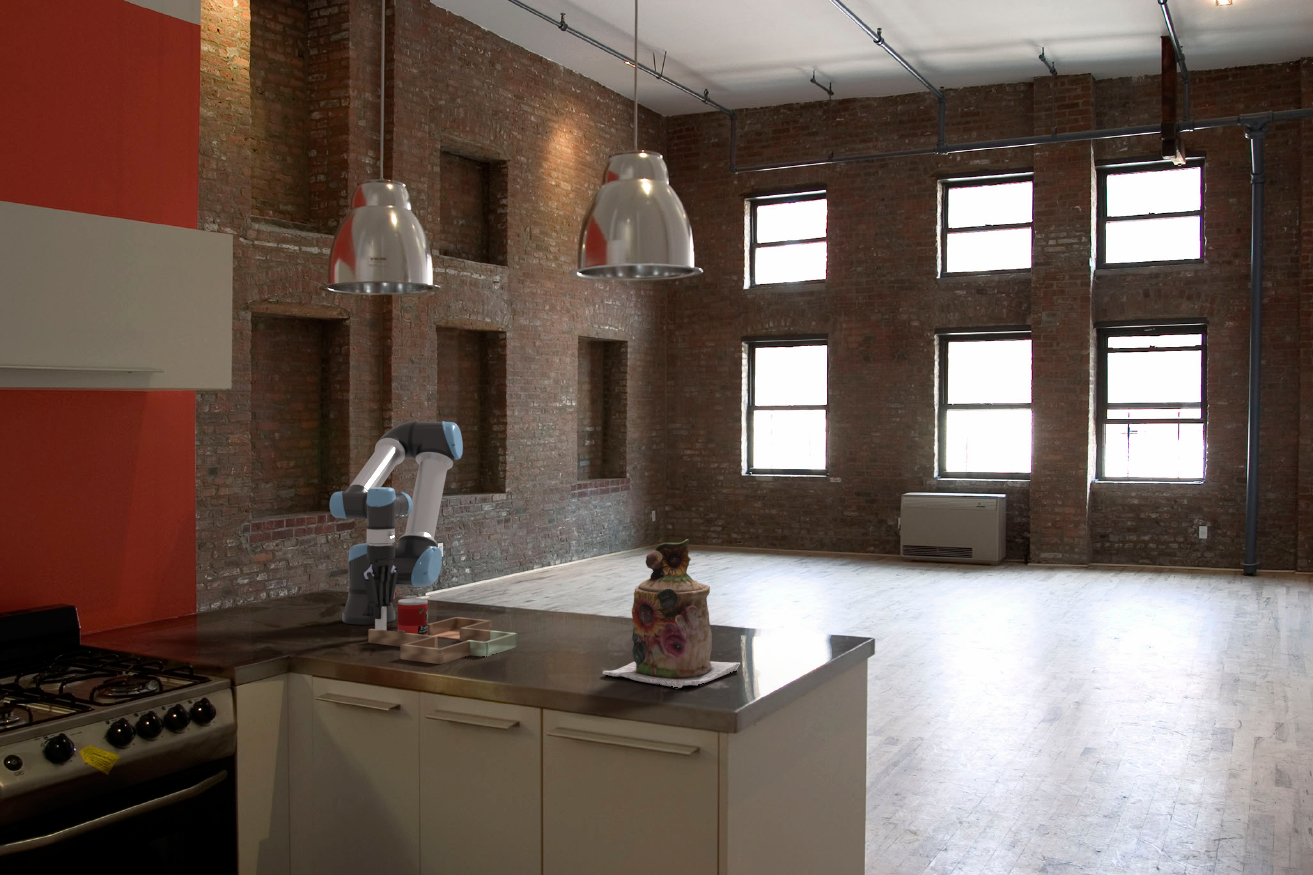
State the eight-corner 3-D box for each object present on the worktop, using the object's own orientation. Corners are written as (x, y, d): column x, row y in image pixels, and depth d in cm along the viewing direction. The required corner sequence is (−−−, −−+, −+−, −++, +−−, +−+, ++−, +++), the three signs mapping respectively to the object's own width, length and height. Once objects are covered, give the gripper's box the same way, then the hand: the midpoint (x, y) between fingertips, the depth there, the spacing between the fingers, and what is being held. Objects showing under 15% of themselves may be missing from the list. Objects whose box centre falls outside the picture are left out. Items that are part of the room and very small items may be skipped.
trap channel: (336, 650, 284) (336, 637, 284) (431, 626, 318) (431, 614, 318) (456, 666, 267) (456, 651, 267) (542, 638, 301) (542, 625, 301)
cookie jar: (658, 658, 277) (659, 531, 276) (743, 671, 263) (744, 537, 262) (598, 677, 256) (598, 539, 256) (687, 692, 242) (688, 547, 242)
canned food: (424, 644, 293) (424, 602, 293) (394, 643, 293) (394, 602, 293) (430, 638, 301) (430, 598, 300) (401, 638, 301) (401, 597, 301)
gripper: (375, 547, 294) (375, 635, 294) (407, 542, 305) (407, 627, 306) (353, 545, 297) (353, 633, 297) (386, 541, 309) (386, 625, 309)
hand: (380, 630), depth 302 cm, fingers closed
